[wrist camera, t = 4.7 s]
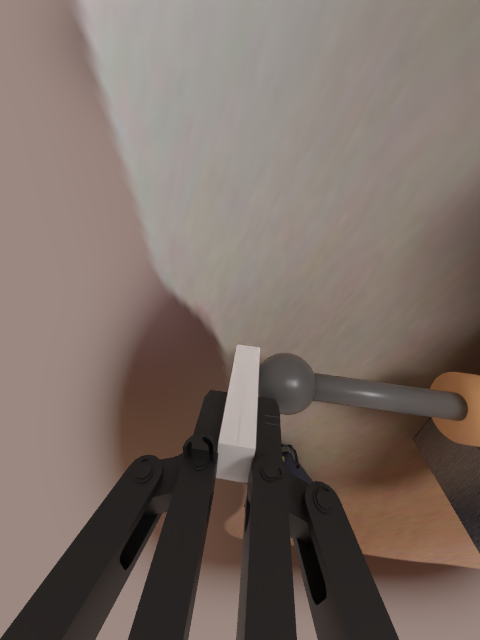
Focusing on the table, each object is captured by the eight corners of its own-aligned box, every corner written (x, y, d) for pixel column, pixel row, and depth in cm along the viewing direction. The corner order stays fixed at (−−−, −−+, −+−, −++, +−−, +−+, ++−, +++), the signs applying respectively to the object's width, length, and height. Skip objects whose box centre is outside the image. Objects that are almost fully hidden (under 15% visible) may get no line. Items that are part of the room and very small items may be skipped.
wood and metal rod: (264, 300, 15) (263, 378, 9) (642, 347, 14) (939, 472, 8) (252, 378, 19) (245, 472, 13) (551, 420, 18) (705, 544, 11)
